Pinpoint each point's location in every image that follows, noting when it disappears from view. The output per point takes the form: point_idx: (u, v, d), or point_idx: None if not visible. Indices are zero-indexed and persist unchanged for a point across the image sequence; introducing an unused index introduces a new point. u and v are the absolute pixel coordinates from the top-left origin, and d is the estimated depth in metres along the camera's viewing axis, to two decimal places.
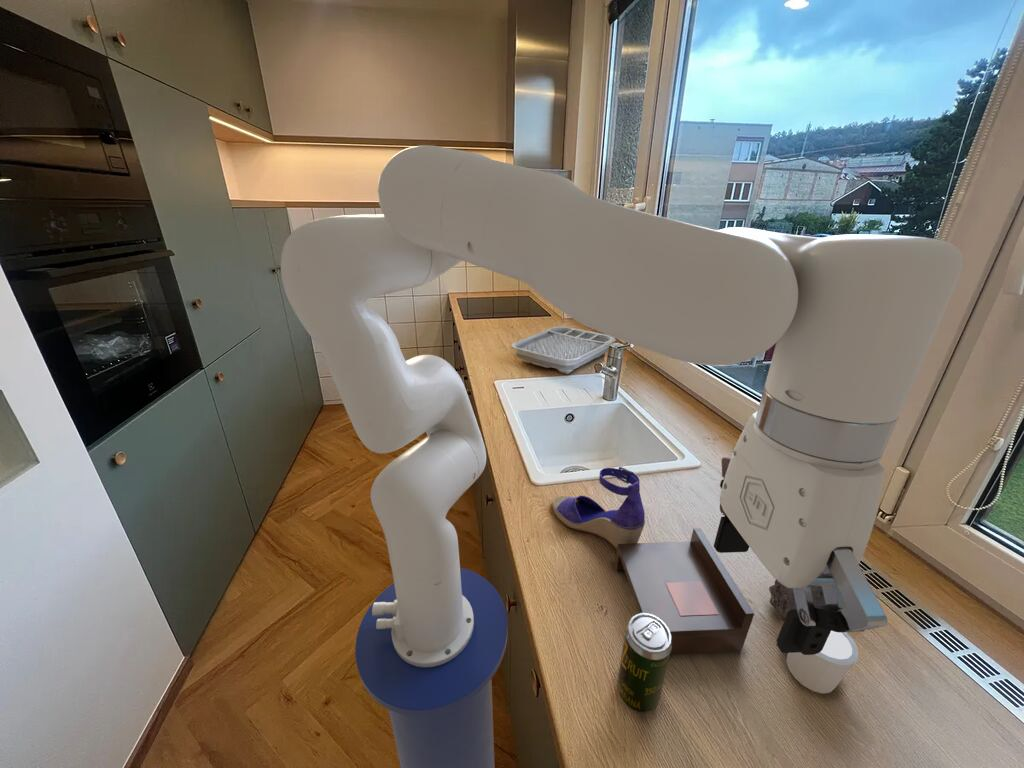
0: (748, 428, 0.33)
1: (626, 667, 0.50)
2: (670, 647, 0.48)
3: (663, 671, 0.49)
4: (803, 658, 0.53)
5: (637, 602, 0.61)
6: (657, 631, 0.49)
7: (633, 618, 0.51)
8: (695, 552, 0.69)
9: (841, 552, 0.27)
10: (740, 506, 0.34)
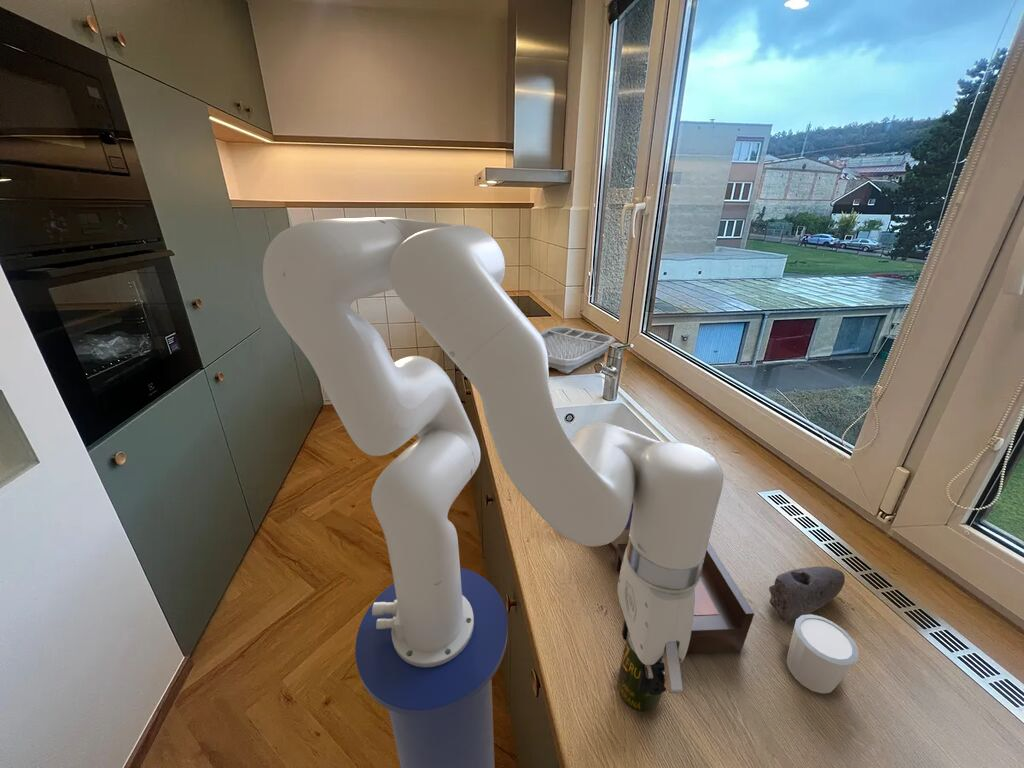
0: None
1: (627, 669, 0.50)
2: None
3: None
4: (803, 658, 0.53)
5: None
6: None
7: None
8: None
9: (670, 646, 0.42)
10: (624, 599, 0.48)
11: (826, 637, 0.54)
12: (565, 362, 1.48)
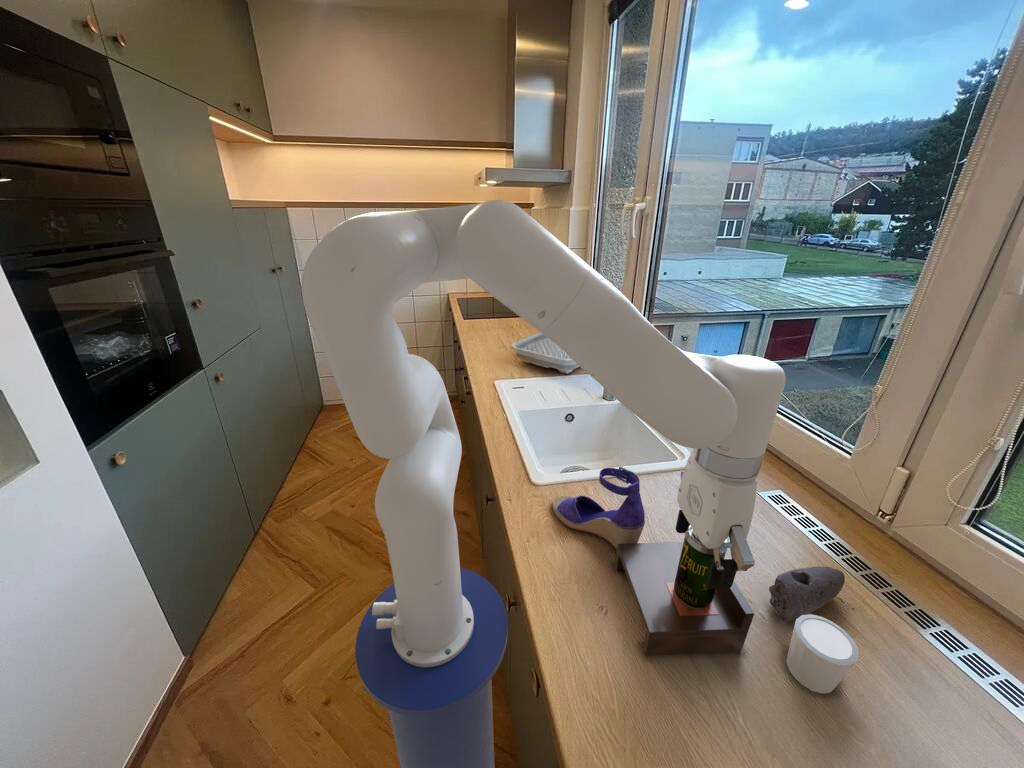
0: (691, 456, 0.55)
1: (686, 566, 0.57)
2: None
3: None
4: (803, 658, 0.53)
5: (637, 602, 0.61)
6: None
7: None
8: None
9: (735, 527, 0.49)
10: (687, 502, 0.56)
11: (826, 637, 0.54)
12: (565, 362, 1.48)
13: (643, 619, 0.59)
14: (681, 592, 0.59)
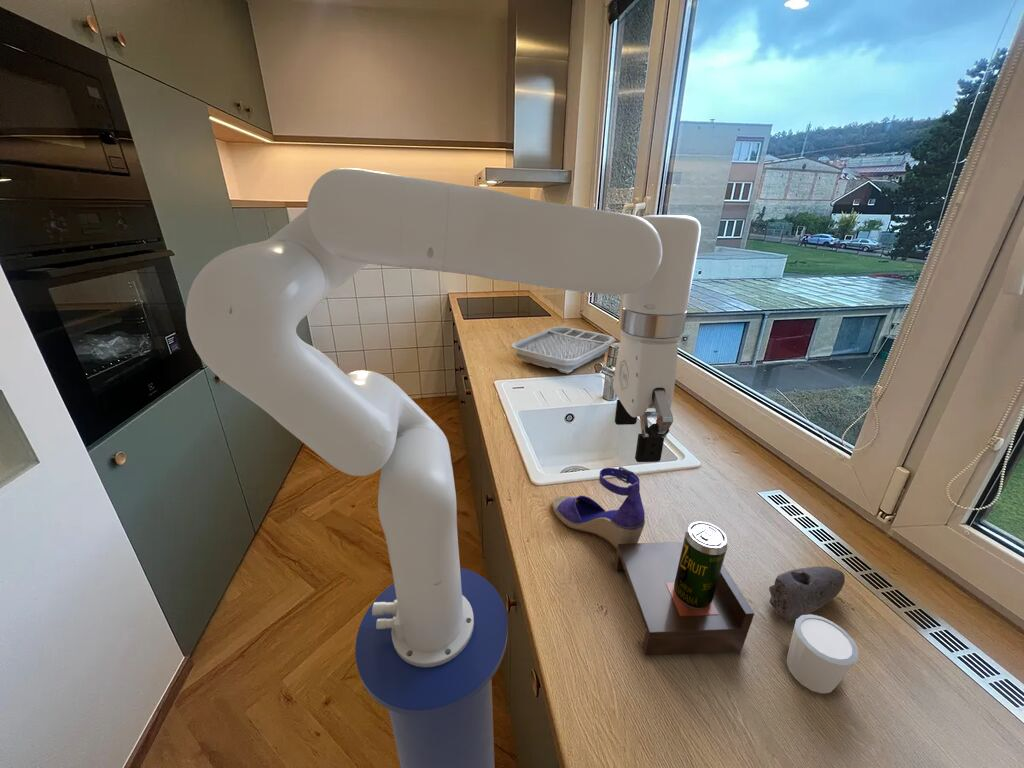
0: (622, 334, 0.55)
1: (686, 566, 0.57)
2: (726, 546, 0.55)
3: (719, 568, 0.56)
4: (803, 658, 0.53)
5: (637, 602, 0.61)
6: (714, 534, 0.57)
7: (691, 525, 0.58)
8: None
9: (658, 391, 0.49)
10: (619, 382, 0.56)
11: (826, 637, 0.54)
12: (565, 362, 1.48)
13: (643, 619, 0.59)
14: (681, 592, 0.59)
